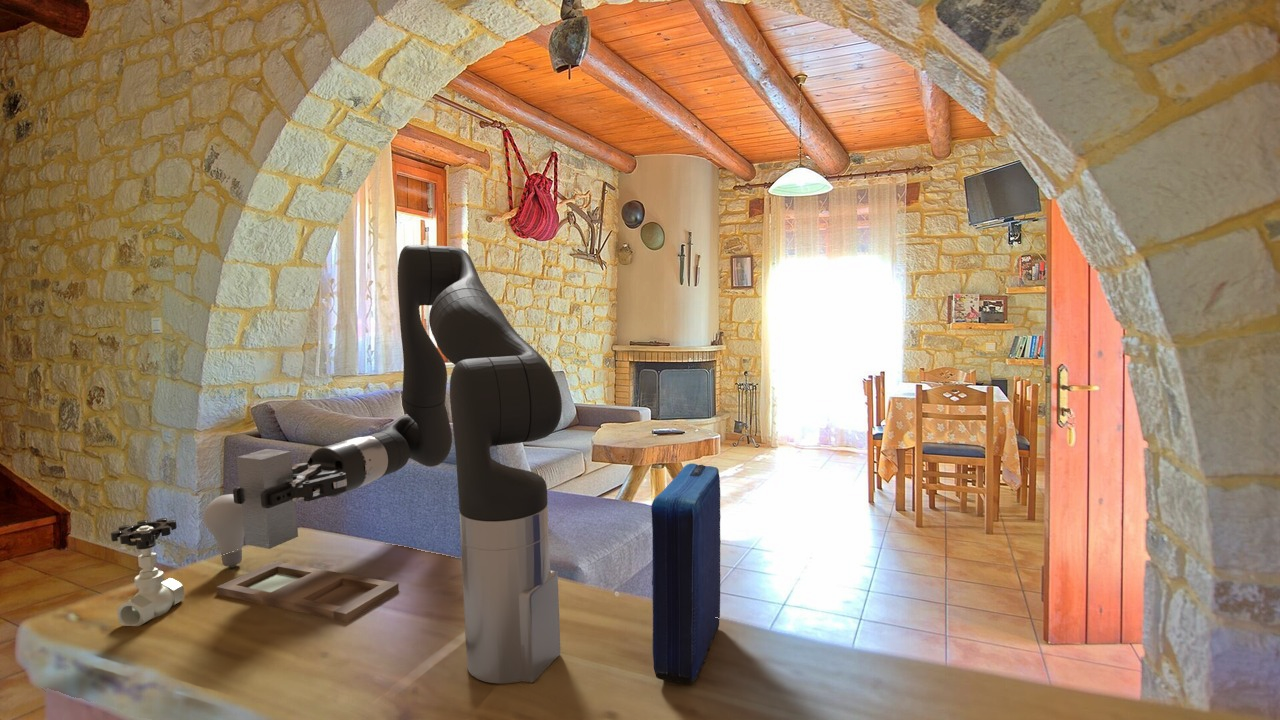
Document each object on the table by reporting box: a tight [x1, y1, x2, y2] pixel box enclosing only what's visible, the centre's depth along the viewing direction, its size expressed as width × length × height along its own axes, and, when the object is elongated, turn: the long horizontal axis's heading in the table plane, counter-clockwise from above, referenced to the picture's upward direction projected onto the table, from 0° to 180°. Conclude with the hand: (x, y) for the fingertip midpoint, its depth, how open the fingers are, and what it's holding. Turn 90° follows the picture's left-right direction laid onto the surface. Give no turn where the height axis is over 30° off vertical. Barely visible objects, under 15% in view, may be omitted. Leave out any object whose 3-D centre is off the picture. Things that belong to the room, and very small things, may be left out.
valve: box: [110, 517, 185, 627], centre depth 85 cm, size 7×7×12 cm
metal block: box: [236, 448, 299, 550], centre depth 92 cm, size 4×4×12 cm
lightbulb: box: [203, 493, 245, 568], centre depth 101 cm, size 6×6×11 cm
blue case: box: [650, 463, 722, 685], centre depth 74 cm, size 14×5×20 cm, turn 162°
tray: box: [216, 560, 400, 623], centre depth 91 cm, size 22×9×2 cm, turn 68°
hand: (249, 498), depth 89 cm, fingers closed on metal block, 4 cm apart
